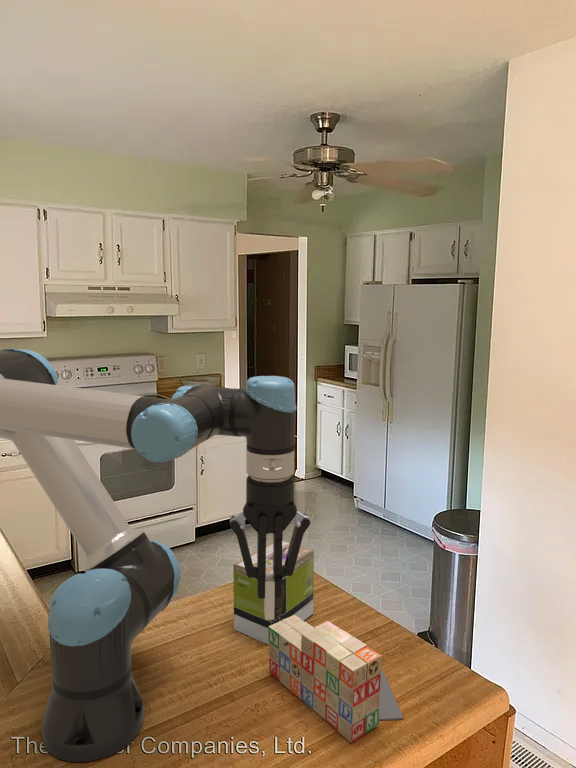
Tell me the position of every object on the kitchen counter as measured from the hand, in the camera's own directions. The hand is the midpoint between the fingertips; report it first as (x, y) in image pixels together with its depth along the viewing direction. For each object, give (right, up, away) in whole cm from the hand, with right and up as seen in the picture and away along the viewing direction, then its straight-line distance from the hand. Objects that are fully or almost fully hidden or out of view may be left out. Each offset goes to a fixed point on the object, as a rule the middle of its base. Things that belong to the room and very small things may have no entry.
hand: (269, 615), depth 98 cm
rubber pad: (+18, -16, +5) cm, 24 cm away
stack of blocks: (+9, -16, +4) cm, 18 cm away
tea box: (0, -12, +27) cm, 29 cm away
